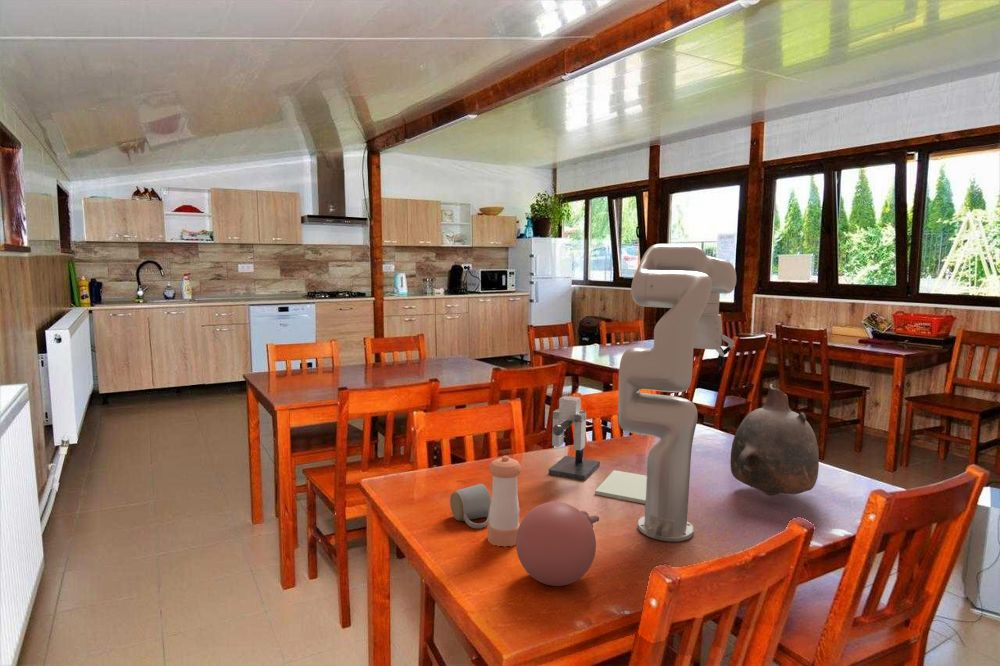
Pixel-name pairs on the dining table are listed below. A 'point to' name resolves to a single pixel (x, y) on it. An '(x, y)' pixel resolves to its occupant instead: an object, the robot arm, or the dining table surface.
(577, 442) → the stepped metal block
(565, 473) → the stand
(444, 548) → the dining table surface
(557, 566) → the balloon
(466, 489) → the ceramic mug
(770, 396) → the jug
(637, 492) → the mat
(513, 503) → the salt shaker
